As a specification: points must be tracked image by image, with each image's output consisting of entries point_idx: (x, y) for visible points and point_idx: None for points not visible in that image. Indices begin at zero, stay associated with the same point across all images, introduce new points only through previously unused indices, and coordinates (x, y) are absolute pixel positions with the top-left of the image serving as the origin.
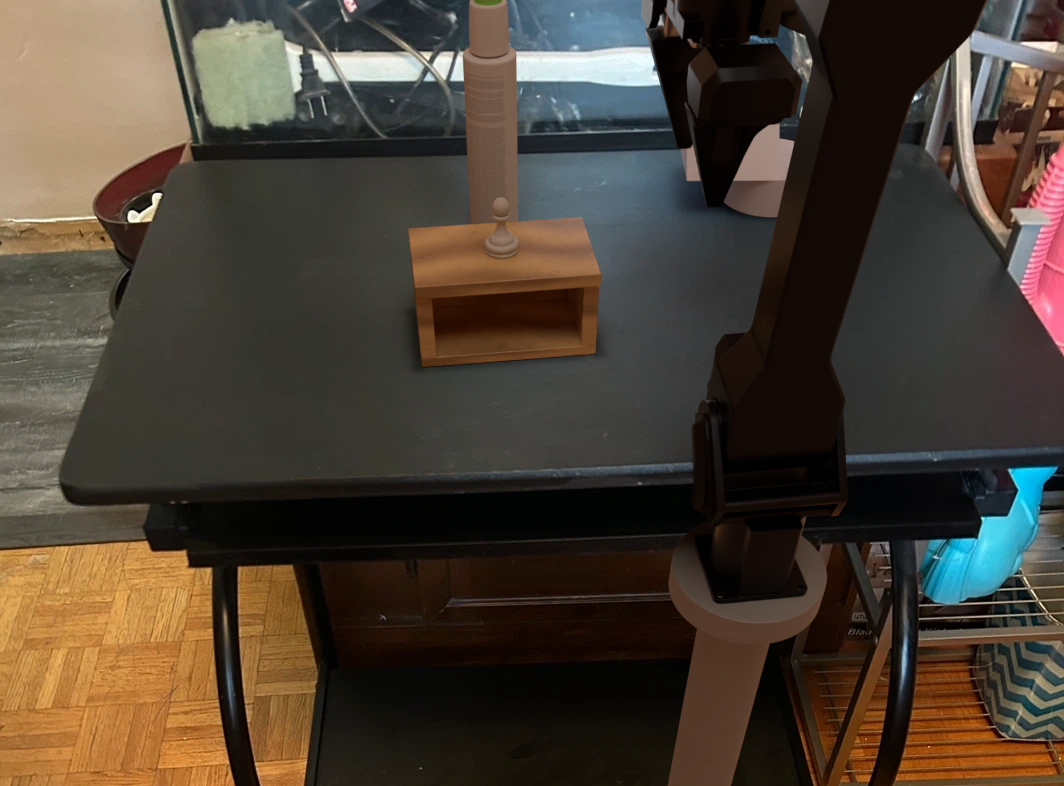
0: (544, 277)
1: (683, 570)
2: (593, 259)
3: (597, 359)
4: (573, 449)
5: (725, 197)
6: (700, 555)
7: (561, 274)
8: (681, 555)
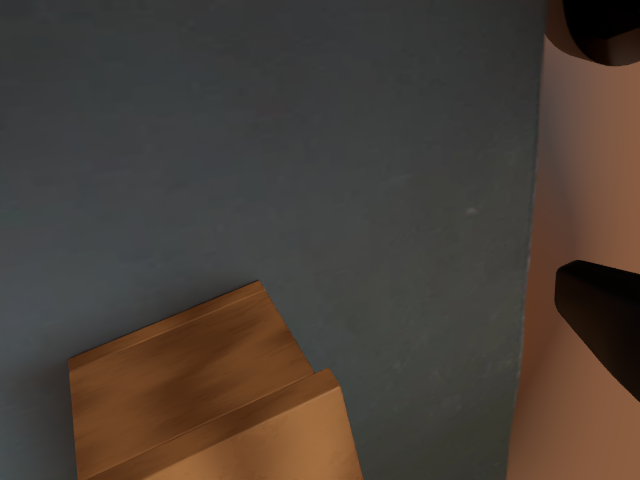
0: (358, 464)
1: (635, 49)
2: (280, 420)
3: (273, 271)
4: (496, 244)
5: (614, 268)
6: (632, 29)
7: (345, 446)
8: (613, 54)
